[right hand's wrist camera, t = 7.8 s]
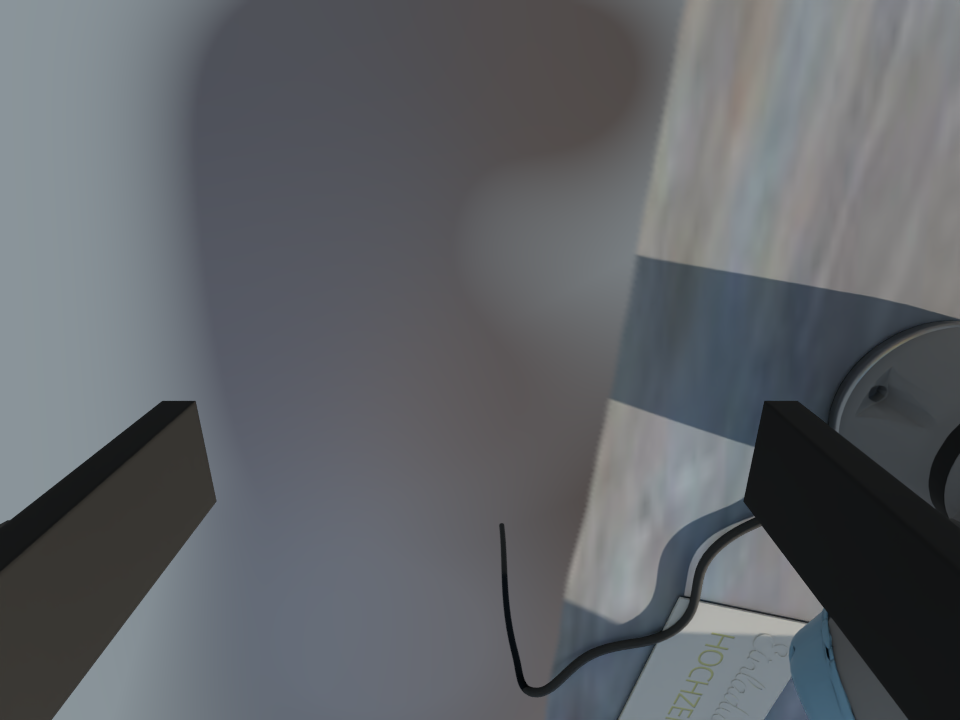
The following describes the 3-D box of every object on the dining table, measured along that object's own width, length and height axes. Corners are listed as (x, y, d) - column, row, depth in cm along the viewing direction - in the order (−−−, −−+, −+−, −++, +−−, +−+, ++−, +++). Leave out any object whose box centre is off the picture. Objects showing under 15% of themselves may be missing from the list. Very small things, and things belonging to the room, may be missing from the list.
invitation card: (680, 598, 52) (823, 628, 53) (679, 596, 52) (821, 625, 53) (607, 744, 59) (734, 767, 61) (606, 742, 59) (732, 764, 61)
